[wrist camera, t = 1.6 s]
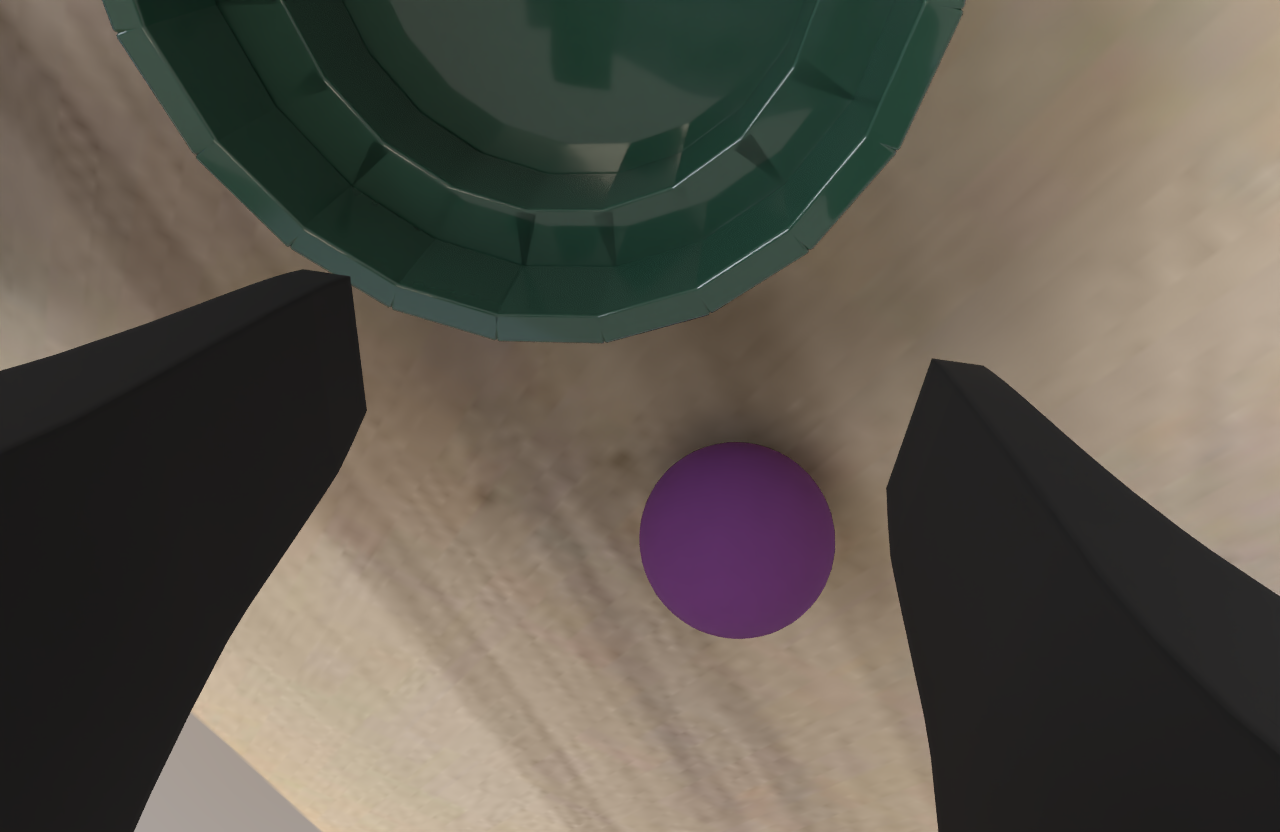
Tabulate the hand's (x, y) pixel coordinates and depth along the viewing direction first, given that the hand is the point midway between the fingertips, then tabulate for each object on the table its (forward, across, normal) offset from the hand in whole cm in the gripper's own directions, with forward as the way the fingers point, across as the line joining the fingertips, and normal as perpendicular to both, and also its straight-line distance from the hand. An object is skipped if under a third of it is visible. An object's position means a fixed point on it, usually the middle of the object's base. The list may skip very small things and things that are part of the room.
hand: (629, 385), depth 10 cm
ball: (+7, -3, +9) cm, 12 cm away
